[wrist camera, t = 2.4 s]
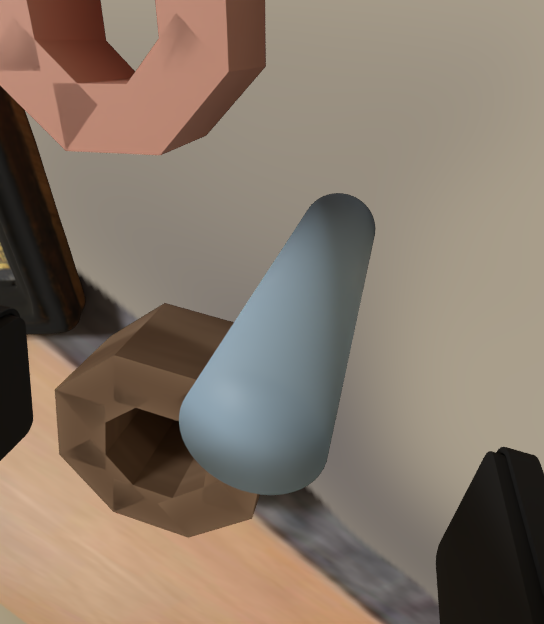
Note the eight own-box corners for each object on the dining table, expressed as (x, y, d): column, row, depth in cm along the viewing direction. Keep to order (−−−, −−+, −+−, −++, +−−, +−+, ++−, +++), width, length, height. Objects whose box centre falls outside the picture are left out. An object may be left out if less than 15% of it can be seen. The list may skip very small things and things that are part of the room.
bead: (301, 341, 22) (277, 403, 18) (268, 482, 27) (243, 556, 23) (111, 287, 23) (50, 336, 19) (110, 431, 28) (62, 493, 24)
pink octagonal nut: (263, -150, 15) (216, -210, 11) (266, 137, 18) (232, 158, 15) (27, -127, 16) (-76, -173, 13) (74, 130, 20) (4, 148, 17)
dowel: (384, 202, 18) (345, 401, 8) (364, 270, 20) (310, 513, 10) (310, 185, 19) (185, 354, 8) (296, 253, 20) (174, 468, 10)
